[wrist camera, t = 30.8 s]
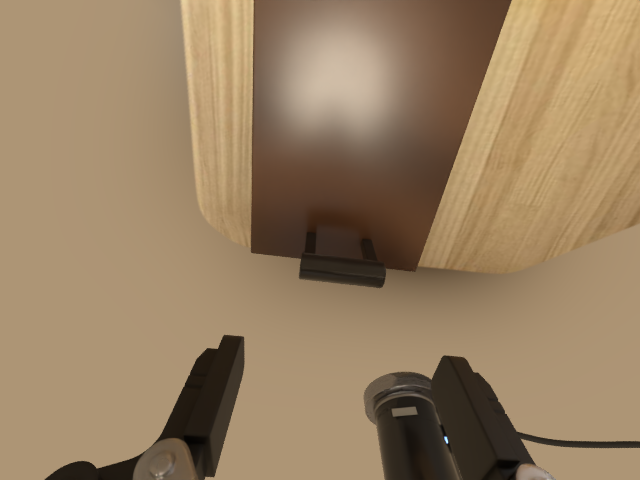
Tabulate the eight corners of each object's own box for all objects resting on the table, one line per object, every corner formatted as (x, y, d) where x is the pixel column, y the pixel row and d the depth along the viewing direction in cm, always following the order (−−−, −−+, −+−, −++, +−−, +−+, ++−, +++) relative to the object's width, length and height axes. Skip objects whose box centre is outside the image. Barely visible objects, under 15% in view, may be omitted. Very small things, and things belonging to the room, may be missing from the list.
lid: (412, 266, 22) (436, 315, 18) (253, 247, 22) (233, 293, 17) (522, -51, 13) (629, -124, 9) (258, -97, 13) (220, -203, 8)
